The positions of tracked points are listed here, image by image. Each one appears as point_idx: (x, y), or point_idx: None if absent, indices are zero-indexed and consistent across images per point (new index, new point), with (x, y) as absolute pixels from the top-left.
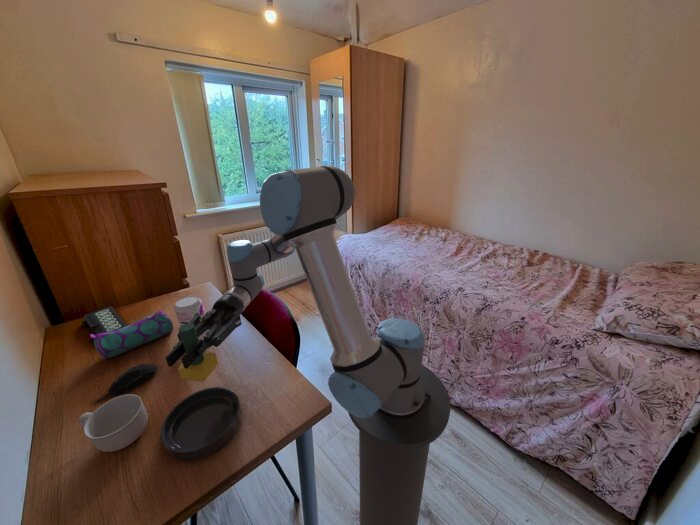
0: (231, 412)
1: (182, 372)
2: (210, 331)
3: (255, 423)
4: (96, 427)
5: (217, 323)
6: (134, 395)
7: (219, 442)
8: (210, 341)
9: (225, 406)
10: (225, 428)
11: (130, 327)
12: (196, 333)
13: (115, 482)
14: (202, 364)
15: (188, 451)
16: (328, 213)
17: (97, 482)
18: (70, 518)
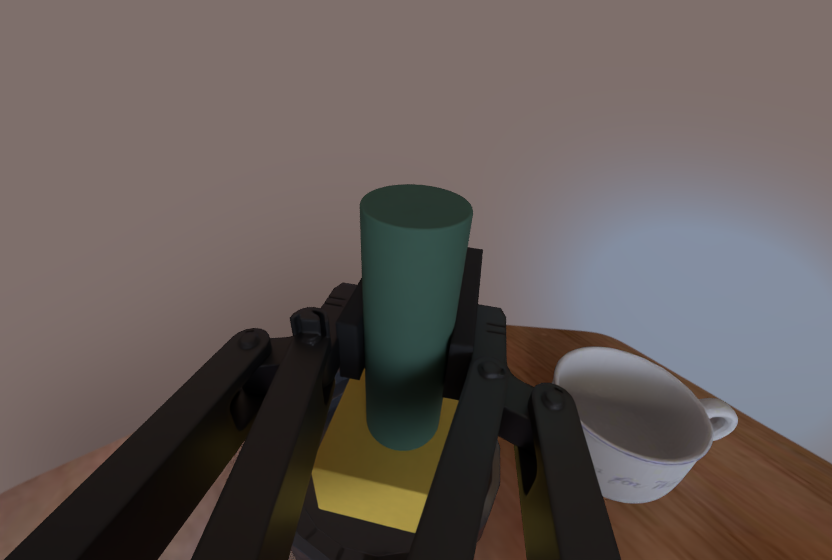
0: (308, 495)
1: None
2: (291, 409)
3: (234, 458)
4: (667, 419)
5: (215, 552)
6: (643, 456)
7: None
8: (287, 338)
9: (332, 524)
10: (321, 440)
11: None
12: (363, 279)
13: (516, 362)
14: (363, 388)
15: None
16: None
17: (551, 365)
18: (540, 328)
